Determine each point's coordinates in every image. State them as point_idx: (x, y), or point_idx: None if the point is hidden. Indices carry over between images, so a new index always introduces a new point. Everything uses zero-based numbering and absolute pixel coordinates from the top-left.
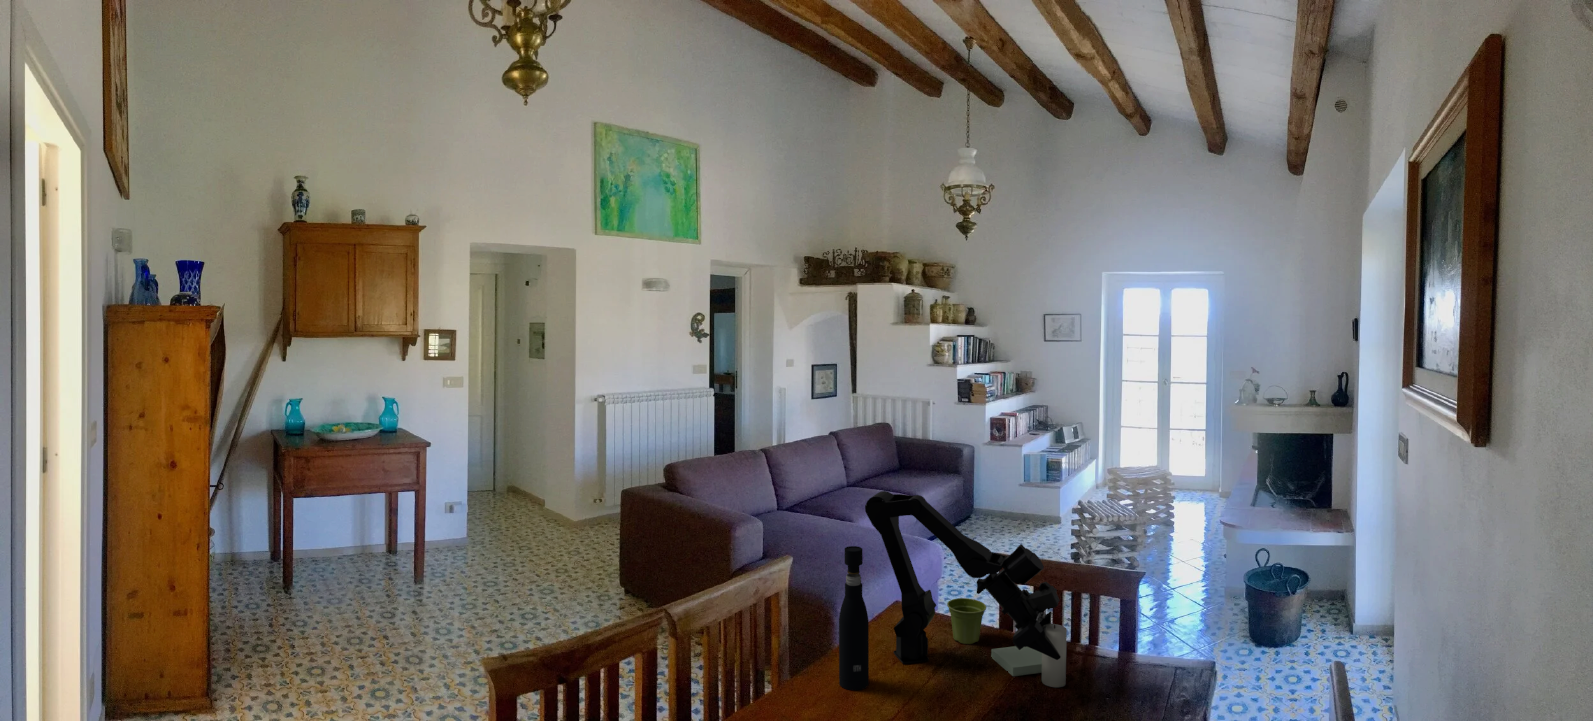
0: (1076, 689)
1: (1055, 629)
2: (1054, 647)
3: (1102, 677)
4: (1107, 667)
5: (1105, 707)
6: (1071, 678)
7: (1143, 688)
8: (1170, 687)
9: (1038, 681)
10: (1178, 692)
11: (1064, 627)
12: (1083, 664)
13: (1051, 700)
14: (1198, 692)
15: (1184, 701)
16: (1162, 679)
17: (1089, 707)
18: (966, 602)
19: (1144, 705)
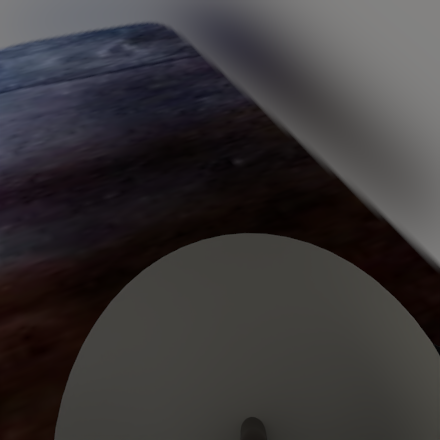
0: None
1: (291, 392)
2: None
3: (109, 217)
4: (28, 230)
5: (298, 146)
6: None
7: (122, 115)
8: (84, 77)
9: None
10: (102, 59)
11: (124, 301)
12: (36, 303)
13: (385, 288)
14: (81, 35)
15: (142, 40)
16: (46, 101)
17: (332, 177)
18: None
19: (217, 86)
